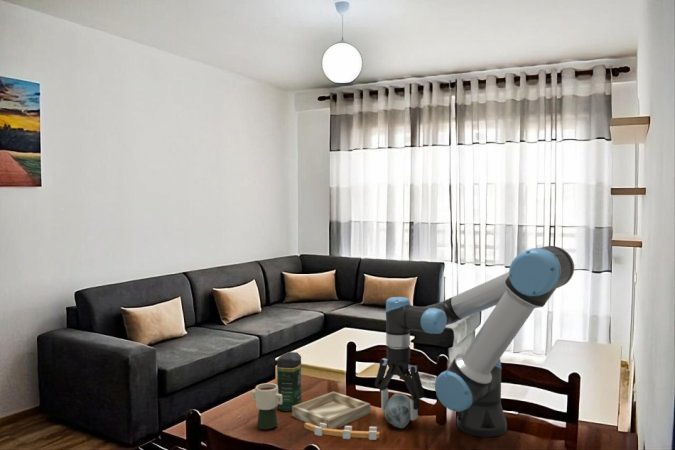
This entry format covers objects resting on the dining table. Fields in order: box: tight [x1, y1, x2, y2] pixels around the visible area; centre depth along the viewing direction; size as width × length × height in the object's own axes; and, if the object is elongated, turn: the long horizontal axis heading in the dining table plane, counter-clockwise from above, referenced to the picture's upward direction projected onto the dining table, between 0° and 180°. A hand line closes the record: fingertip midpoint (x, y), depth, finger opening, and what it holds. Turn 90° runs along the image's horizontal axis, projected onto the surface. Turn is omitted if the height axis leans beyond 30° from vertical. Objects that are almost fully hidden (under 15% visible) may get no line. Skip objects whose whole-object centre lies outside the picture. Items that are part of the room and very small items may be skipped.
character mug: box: [251, 382, 283, 430], centre depth 169 cm, size 11×7×13 cm, turn 68°
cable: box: [303, 422, 380, 439], centre depth 164 cm, size 24×4×1 cm, turn 71°
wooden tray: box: [291, 390, 371, 430], centre depth 178 cm, size 17×19×4 cm
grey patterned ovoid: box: [384, 393, 411, 429], centre depth 171 cm, size 14×10×10 cm
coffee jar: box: [276, 351, 303, 412], centre depth 186 cm, size 10×8×19 cm
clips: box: [313, 423, 378, 441], centre depth 163 cm, size 19×5×2 cm, turn 78°
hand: (399, 414), depth 171 cm, fingers closed on grey patterned ovoid, 11 cm apart
